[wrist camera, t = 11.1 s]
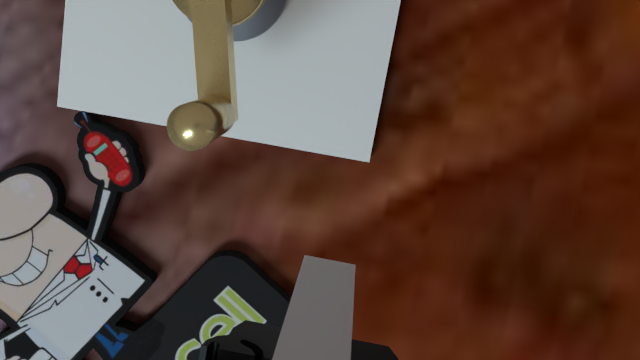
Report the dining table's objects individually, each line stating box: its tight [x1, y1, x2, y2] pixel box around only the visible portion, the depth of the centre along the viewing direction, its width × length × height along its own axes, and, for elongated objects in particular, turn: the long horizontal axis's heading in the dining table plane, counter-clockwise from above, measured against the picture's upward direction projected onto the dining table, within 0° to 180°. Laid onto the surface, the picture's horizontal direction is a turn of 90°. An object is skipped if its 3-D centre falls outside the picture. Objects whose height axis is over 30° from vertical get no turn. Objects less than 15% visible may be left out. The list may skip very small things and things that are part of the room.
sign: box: [0, 111, 291, 360], centre depth 50 cm, size 27×2×30 cm
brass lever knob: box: [167, 0, 266, 151], centre depth 34 cm, size 13×6×11 cm, turn 2°
